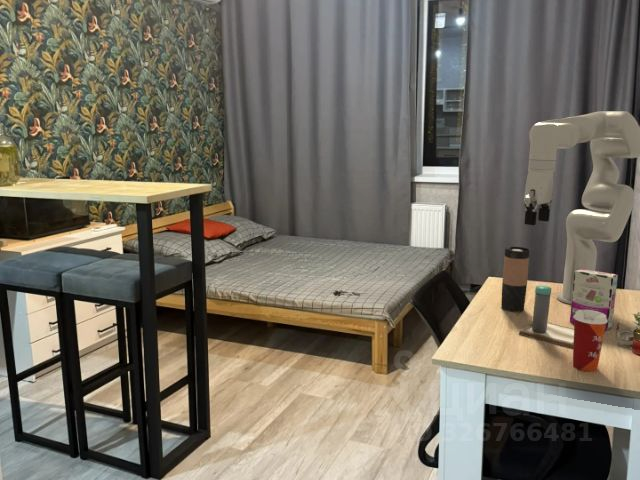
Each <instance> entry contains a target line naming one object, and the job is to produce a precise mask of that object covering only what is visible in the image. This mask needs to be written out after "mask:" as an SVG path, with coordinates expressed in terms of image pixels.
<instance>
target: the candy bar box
mask: <svg viewBox="0 0 640 480" xmlns="http://www.w3.org/2000/svg"><path fill="white" fill-rule="evenodd" d="M618 278H619V275H618V274H615V273H610V272H604V271H603V272H602V271H598V270H595V271H592V270H586V269H578V270H576V271H575V272H574V283H573V294H572V304H570V305H571V307H570V313H569V314H570V315H569V322H570V323H573V324H574V322H575V319H574V317H573V316H574V315H575V313H576V311H578V310H593V311H598V312H601V313H603V314H605V315H606V319H607V321H608V322H607V323H606V325H605V331H608V330H610V329H611V328H612V327H613V323H614V315H615V314H614V313H615V306H616V303H615V302H616V295H617V286H618Z"/></svg>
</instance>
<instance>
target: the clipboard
mask: <svg viewBox="0 0 640 480" xmlns="http://www.w3.org/2000/svg"><path fill="white" fill-rule="evenodd" d="M518 331H519V332H518V334H519V335H522V336H526V337H528V338H533V339H537V340H540V341H544V342H547V343H551V344H555V345H560V346H563V347H566V348H571V349H573V345H574V327H567V326H563V325H559V324H555V323H552V322H548V323H547V331H546V333H536V332H533V331H532V323H531V324H530V323H529V324H528V325H527V326H524V328H522V329H520V330H518Z"/></svg>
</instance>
